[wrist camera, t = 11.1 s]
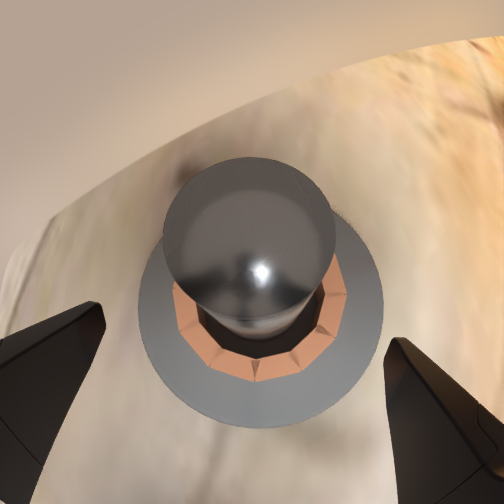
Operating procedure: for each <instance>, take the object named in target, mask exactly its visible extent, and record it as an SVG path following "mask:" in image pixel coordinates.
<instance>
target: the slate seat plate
mask: <svg viewBox="0 0 504 504" xmlns="http://www.w3.org/2000/svg"><path fill="white" fill-rule="evenodd" d="M332 213H333V216H334V221H335V226H336V245H335V251H334V255H333V259H332V261H331V264H330V266H329V269H328V270H327V272H326V274H325V276H324V278H323V279H322V281H321V282H320V284H319V285H318V287H317V289H316V290H315V292H314V293H313V295H312V296H311V298H310V299H309V301H308V302H307V304H306V305H305V307H304V308H303V310H302V311H301V313H300V314H299V316H298V317H297V319H296V320H295V322H294V323H293V324H292V326H291V327H290V328H289V329H288V330H287V331H286V332H285V333H284V334H283V335H281V336H279V337H278V338H276V339H273V340H270V341H266V342H252V341H248V340H244V339H242V338H240V337H238V336H237V335H235V334H234V333H232V332H231V331H230V330H229V329H227V328H226V327H225V326H224V325H222V324H221V323H220V322H219V321H218V320H216V319H215V318H214V317H213V316H212V315H210V314H209V313H208V312H207V311H205V310H204V309H203V308H202V307H201V306H200V305H198V304H197V303H196V302H195V301H194V300H192V299H191V298H190V297H189V296H188V295H187V294H186V293H185V292H184V291H183V290H182V289H181V288H180V287H179V285H178V284H177V283H176V281H175V280H174V278H173V277H172V275H171V273H170V271H169V268H168V266H167V264H166V260H165V256H164V251H163V237H162V238H161V240H160V242H159V243H158V245H157V246H156V248H155V249H154V251H153V253H152V255H151V257H150V259H149V261H148V263H147V266H146V268H145V271H144V274H143V277H142V282H141V287H140V292H139V303H138V316H139V327H140V332H141V336H142V341H143V344H144V347H145V349H146V352H147V355H148V357H149V359H150V361H151V363H152V365H153V367H154V369H155V371H156V372H157V373H158V375H159V376H160V378H161V379H162V381H163V382H164V383H165V384H166V386H167V387H168V388H169V389H170V390H171V391H172V392H173V393H174V394H175V395H176V396H177V397H178V398H179V399H181V400H182V401H183V402H184V403H186V404H187V405H188V406H189V407H191V408H193V409H194V410H196V411H198V412H199V413H201V414H203V415H205V416H207V417H209V418H212V419H214V420H216V421H219V422H222V423H226V424H230V425H233V426H238V427H246V428H275V427H281V426H287V425H291V424H295V423H298V422H301V421H304V420H307V419H309V418H311V417H313V416H315V415H317V414H320V413H321V412H323V411H325V410H326V409H328V408H329V407H331V406H332V405H334V404H335V403H336V402H338V401H339V400H340V399H341V398H342V397H343V396H345V395H346V394H347V393H348V392H349V391H350V390H351V389H352V387H353V386H354V385H355V384H356V383H357V382H358V380H359V379H360V378H361V376H362V375H363V373H364V372H365V370H366V369H367V367H368V365H369V363H370V361H371V359H372V357H373V355H374V353H375V351H376V348H377V344H378V341H379V338H380V335H381V329H382V323H383V304H384V302H383V293H382V286H381V282H380V278H379V274H378V270H377V268H376V265H375V263H374V260H373V258H372V256H371V254H370V252H369V250H368V249H367V247H366V245H365V243H364V242H363V241H362V239H361V238H360V237H359V235H358V234H357V233H356V231H355V230H354V229H353V228H352V227H351V226H350V225H349V224H348V223H347V222H346V221H345V220H344V219H343V218H341V217H340V216H339V215H338V214H337V213H335V212H334V211H332Z"/></svg>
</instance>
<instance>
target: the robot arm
mask: <svg viewBox="0 0 504 504" xmlns="http://www.w3.org/2000/svg"><path fill="white" fill-rule="evenodd" d="M105 330H106V321H105V317H104V313H103V309H102V306H101V304H100V303H97V302H93V301H88V302H85V303H83V304H81V305H78V306H76V307H74V308H71V309H69V310H67V311H64V312H62V313H60V314H57V315H55V316H53V317H51V318H48V319H46V320H44V321H41V322H39V323H37V324H34V325H32V326H30V327H28V328H25V329H23V330H21V331H19V332H16V333H14V334H12V335H9V336H7V337H5V338H4V339H0V500H1V501H3V502H4V503H5V504H29V503H30V501H31V498H32V495H33V493H34V490H35V487H36V485H37V482H38V480H39V477H40V475H41V472H42V470H43V466H44V464H45V462H46V460H47V457H48V455H49V452H50V450H51V448H52V446H53V443H54V441H55V439H56V437H57V434H58V432H59V430H60V428H61V426H62V423H63V421H64V419H65V417H66V415H67V413H68V411H69V409H70V407H71V404H72V402H73V400H74V398H75V396H76V394H77V392H78V390H79V388H80V386H81V384H82V382H83V380H84V379H85V377H86V375H87V373H88V371H89V369H90V367H91V364H92V362H93V359H94V357H95V354H96V352H97V349H98V347H99V345H100V342H101V340H102V337H103V335H104V333H105ZM383 367H384V379H385V395H386V408H387V415H388V421H389V428H390V434H391V441H392V448H393V456H394V464H395V473H396V483H397V494H398V504H504V424H503V423H502V422H501V421H499V420H498V419H497V418H496V417H495V416H494V415H492V414H491V413H490V412H489V411H488V410H487V409H486V408H485V407H484V406H482V405H481V404H480V403H479V402H478V401H477V400H476V399H475V398H474V397H473V396H471V395H470V394H469V393H468V392H467V391H466V390H465V389H464V388H463V387H461V386H460V385H459V384H458V383H457V382H456V381H455V380H454V379H453V378H451V377H450V376H449V375H448V374H447V373H446V372H445V371H444V370H442V369H441V368H440V367H439V366H438V365H437V364H436V363H434V362H433V361H432V360H431V359H430V358H429V357H428V356H426V355H425V354H424V353H423V352H422V351H421V350H420V349H418V348H417V347H416V346H415V345H414V344H413V343H411V342H410V341H409V340H408V339H407V338H404V337H394V338H393V339H392V340H391V342H390V345H389V347H388V350H387V352H386V355H385V357H384V362H383Z"/></svg>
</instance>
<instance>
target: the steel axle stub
mask: <svg viewBox="0 0 504 504" xmlns="http://www.w3.org/2000/svg"><path fill="white" fill-rule="evenodd" d="M335 245H336V226H335V221H334V216H333V213H332V210H331V208H330V205H329V203H328V201H327V199H326V198H325V196H324V194H323V193H322V192H321V190H320V189H319V188H318V187H317V185H316V184H315V183H314V182H313V181H312V180H311V179H309V178H308V177H307V176H306V175H305V174H303V173H302V172H300V171H298V170H297V169H295V168H293V167H291V166H289V165H287V164H284V163H282V162H279V161H275V160H271V159H266V158H257V157H246V158H237V159H232V160H227V161H224V162H221V163H218V164H215V165H213V166H211V167H209V168H207V169H205V170H204V171H202V172H200V173H199V174H197V175H196V176H195V177H194V178H192V179H191V180H190V181H189V182H188V183H187V184H186V185H185V186H184V187H183V188H182V189H181V190H180V192H179V193H178V194H177V195H176V197H175V199H174V200H173V202H172V204H171V206H170V208H169V210H168V213H167V216H166V219H165V222H164V228H163V251H164V256H165V260H166V264H167V266H168V268H169V271H170V273H171V275H172V277H173V278H174V280H175V281H176V283H177V284H178V285H179V287H180V288H181V289H182V290H183V291H184V292H185V293H186V294H187V295H188V296H189V297H190V298H191V299H192V300H194V301H195V302H196V303H197V304H198V305H200V306H201V307H202V308H203V309H204V310H205V311H207V312H208V313H209V314H210V315H212V316H213V317H214V318H215V319H216V320H218V321H219V322H220V323H221V324H222V325H224V326H225V327H226V328H227V329H229V330H230V331H231V332H232V333H234V334H235V335H237V336H238V337H240V338H242V339H244V340H248V341H252V342H266V341H270V340H273V339H276V338H278V337H279V336H281V335H283V334H284V333H285V332H286V331H287V330H288V329H289V328H290V327H291V326H292V324H293V323H294V322H295V320H296V319H297V317H298V316H299V314H300V313H301V311H302V310H303V308H304V307H305V305H306V304H307V302H308V301H309V299H310V298H311V296H312V295H313V293H314V292H315V290H316V289H317V287H318V285H319V284H320V282H321V281H322V279H323V278H324V276H325V274H326V272H327V270H328V269H329V266H330V264H331V261H332V259H333V255H334V251H335Z"/></svg>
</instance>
